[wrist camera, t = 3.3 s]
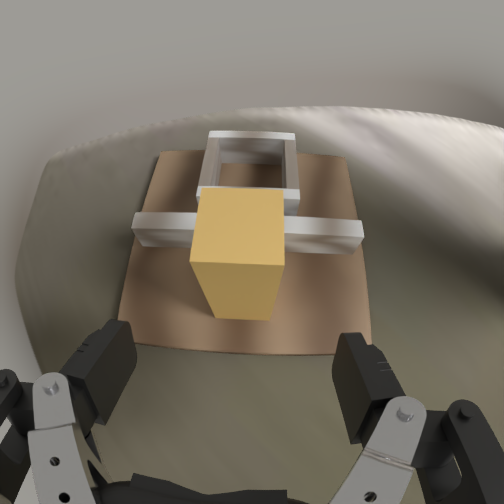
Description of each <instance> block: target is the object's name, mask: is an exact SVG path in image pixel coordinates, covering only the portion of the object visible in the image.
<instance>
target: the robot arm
mask: <svg viewBox="0 0 504 504" xmlns="http://www.w3.org/2000/svg"><path fill="white" fill-rule="evenodd" d="M136 362H137V352H136V348H135V343H134V339H133V334H132V329H131V325H130V323H129V322H128V321H121V320H114V319H110V320H109V321H108V322H107V323H106V324H105V326H104V327H103V328H102V329H101V330H99V329H98V330H97V331H95V332H94V333H92V334H90V335H89V336H88V337H87V338H86V339H85V341H84V342H83V343H82V345H80V347H79V348H78V349H77V351H75V353H74V354H73V355H72V356H71V358H70V359H69V360H68V361H67V363H66V364H65V365H64V366H63V368H62V369H61V370H60V372H59V373H55V372H52V373H47V374H44V375H42V376H40V377H39V378H38V379H37V380H36V381H35V382H34V383H26V382H19V380H18V378H17V376H16V374H15V373H14V372H13V371H12V370H9V369H4V370H0V426H1V425H2V423H3V422H4V420H5V419H6V417H7V418H8V419H9V421H10V422H11V424H12V425H11V427H10V429H9V430H8V432H7V434H6V435H5V437H4V439H3V440H2V442H1V444H0V504H14V502H15V499H16V497H17V495H18V492H19V490H20V488H21V485H22V483H23V481H24V479H25V476H26V474H27V472H28V470H29V468H30V465H31V466H32V471H33V477H34V482H35V487H36V492H37V496H38V500H39V504H308V503H305V502H303V501H299V500H295V499H290V498H287V490H243V491H237V492H229V493H221V494H212V495H206V494H201V493H199V492H196V491H193V490H190V489H187V488H185V487H182V486H180V485H177V484H175V483H172V482H170V481H166V480H161V479H157V478H152V477H148V476H144V475H139V474H136V473H133V476H132V479H131V481H119V482H113V480H112V478H111V476H110V475H109V473H108V471H107V469H106V466H105V464H104V461H103V458H102V456H101V453H100V450H99V447H98V444H97V441H96V438H95V435H94V432H93V430H92V426H93V424H94V422H95V423H98V424H101V425H106V423H107V421H108V419H109V417H110V415H111V413H112V411H113V409H114V407H115V405H116V403H117V401H118V399H119V397H120V395H121V393H122V391H123V390H124V388H125V386H126V384H127V382H128V380H129V378H130V376H131V374H132V372H133V370H134V369H135V366H136ZM332 378H333V382H334V386H335V389H336V393H337V396H338V400H339V403H340V407H341V410H342V414H343V417H344V421H345V425H346V428H347V432H348V436H349V440H350V444H358V443H362V447H363V450H362V452H361V453H360V455H359V457H358V459H357V460H356V462H355V464H354V465H353V467H352V468H351V470H350V472H349V473H348V475H347V476H346V478H345V479H344V481H343V482H342V484H341V485H340V487H339V488H338V490H337V491H336V493H335V494H334V496H333V497H332V498H331V500H330V501H329V502H328V504H399V503H400V501H401V499H402V497H403V495H404V492H405V490H406V488H407V486H408V483H409V481H410V478H411V476H412V473H413V470H414V468H416V471H417V474H418V478H419V481H420V484H421V488H422V491H423V495H424V499H425V502H426V504H504V452H503V450H502V448H501V446H500V444H499V442H498V440H497V438H496V437H495V435H494V433H493V431H492V429H491V427H490V426H489V424H488V422H487V420H486V419H485V417H484V415H483V414H482V412H481V410H480V409H479V407H478V406H477V405H476V404H474V403H473V402H471V401H468V400H457V401H455V402H453V403H452V404H451V405H450V407H449V408H448V410H447V411H431V410H426V409H425V407H424V406H423V404H422V403H421V402H419V401H418V400H416V399H414V398H412V397H407V396H406V395H405V393H404V391H403V389H402V387H401V386H400V384H399V382H398V380H397V378H396V376H395V374H394V372H393V371H392V370H391V367H390V365H389V363H387V360H386V358H385V356H384V354H383V353H382V351H380V350H379V349H378V348H377V347H376V346H374V345H373V344H370V345H367V343H366V341H365V339H364V337H363V335H362V333H361V332H352V333H341V334H340V336H339V339H338V344H337V348H336V352H335V356H334V361H333V365H332ZM454 456H455V458H456V461H457V463H458V466H459V468H460V471H461V474H462V478H461V475H460V472H459V470H458V467H457V465H456V462H455V460H454Z"/></svg>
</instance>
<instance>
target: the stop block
mask: <svg viewBox="0 0 504 504" xmlns="http://www.w3.org/2000/svg"><path fill="white" fill-rule="evenodd" d="M189 262H190V264H191V266H192V268H193V270H194V273H195V275H196V277H197V279H198V282H199V284H200V286H201V288H202V290H203V292H204V295H205V297H206V299H207V301H208V303H209V305H210V307H211V309H212V311H213V314H214V316H215V318H223V319H242V320H266V321H270V317H271V314H272V310H273V307H274V303H275V299H276V296H277V292H278V288H279V284H280V281H281V277H282V273H283V269H284V266H285V256H284V198H283V190H273V189H248V188H202V189H201V194H200V200H199V205H198V211H197V217H196V223H195V229H194V235H193V241H192V247H191V254H190V261H189Z"/></svg>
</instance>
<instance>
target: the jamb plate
mask: <svg viewBox="0 0 504 504" xmlns="http://www.w3.org/2000/svg"><path fill="white" fill-rule="evenodd" d="M202 188H248V189H273V190H283V198H284V256H285V266H284V269H283V273H282V277H281V281H280V284H279V288H278V292H277V296H276V299H275V303H274V307H273V310H272V314H271V317H270V321H266V320H242V319H223V318H215V316H214V314H213V311H212V309H211V307H210V305H209V303H208V301H207V299H206V297H205V295H204V292H203V290H202V288H201V286H200V284H199V282H198V279H197V277H196V275H195V273H194V270H193V268H192V266H191V264H190V262H189V261H190V254H191V247H192V241H193V235H194V229H195V223H196V217H197V211H198V205H199V200H200V194H201V189H202ZM131 229H132V231H133V232H134V234H135V238H134V242H133V246H132V250H131V255H130V259H129V263H128V268H127V272H126V277H125V282H124V287H123V292H122V297H121V302H120V308H119V314H118V320H121V321H128V322H129V323H130V325H131V329H132V334H133V339H134V343H135V344H142V345H149V346H157V347H165V348H173V349H182V350H192V351H203V352H216V353H230V354H249V355H287V356H307V355H335V352H336V348H337V344H338V339H339V336H340V334H341V333H352V332H361V333H362V335H363V337H364V339H365V341H366V343H367V345H370V344H372V341H371V324H370V311H369V300H368V290H367V281H366V272H365V264H364V257H363V249H362V243H361V242H362V240H363V239H364V232H363V226H362V221H360V220H358V218H357V213H356V207H355V202H354V197H353V192H352V187H351V182H350V177H349V173H348V168H347V164H346V160H345V157H337V156H327V155H317V154H305V153H296V142H295V133H281V132H260V131H210V133H209V137H208V141H207V146H206V150H183V151H161V153H160V156H159V159H158V162H157V164H156V167H155V170H154V173H153V176H152V180H151V183H150V186H149V189H148V192H147V195H146V199H145V202H144V206H143V209H142V212H135V216H134V219H133V223H132V226H131Z"/></svg>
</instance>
